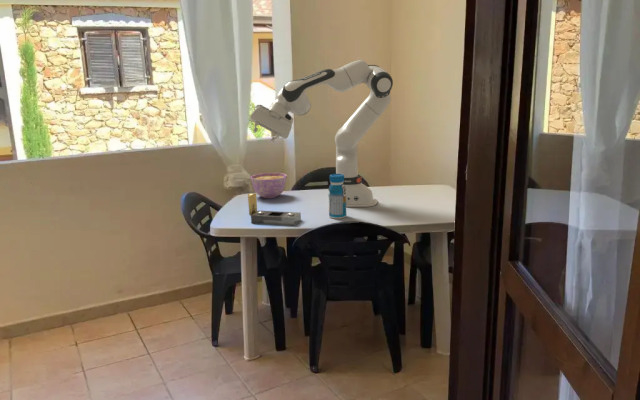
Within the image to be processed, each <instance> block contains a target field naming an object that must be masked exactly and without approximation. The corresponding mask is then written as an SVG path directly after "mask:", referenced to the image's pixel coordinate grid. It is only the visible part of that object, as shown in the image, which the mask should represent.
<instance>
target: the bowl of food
mask: <svg viewBox="0 0 640 400" xmlns="http://www.w3.org/2000/svg"><path fill="white" fill-rule="evenodd" d="M287 177H288V175H287V174H286V173H282V172H263V173H257V174H253V175H251V176H250V180H251V183H252V187H253V191H254V193H255V194H256V195H257V196H259V197H262V198H263V199H274V198H277V197H278V196H280V195H281V194H283V192H284V191H285V187H286V183H287Z"/></svg>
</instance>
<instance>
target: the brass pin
mask: <svg viewBox="0 0 640 400" xmlns="http://www.w3.org/2000/svg"><path fill="white" fill-rule="evenodd" d="M247 200H248V201H247V203H248V215H249V216H251V215H253V214H254V213H256V212H257V211H258V201H257V193H256V192H253V193H248V194H247Z"/></svg>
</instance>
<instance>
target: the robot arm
mask: <svg viewBox="0 0 640 400" xmlns="http://www.w3.org/2000/svg"><path fill="white" fill-rule="evenodd" d="M360 84H364V85H366V86H367V87H368V88H369V90H370V92H369V95H368V96H367V97H366V98H365V99H364V100H363V101H362V103H361V104H360V105H359V106H357V109H356V110H354V112H353V113H352V114H351V116H350V117H349V118H348V119H347V121H345V122H344V124H343V125H342V127H340V128H339V129H338V130H337V131H336V133H335V136H334V143H335V174H343V175H344V182H343V184H344V185H345V187H346V191H345V192H346V208H350V207H351V208H353V207H354V208H355V207H357V208H358V207H359V208H361V207H362V208H364V207H366V208H368V207H370V208H371V207H374V206H375V205H377V204H378V199H377V198H374V195H373V194H374V193H373V192H372V190H371V189H370V188H369V187H368V186H367V185H365V184H363V183H362V182H363V180H362V179H363V176H359V175H358V174H359V173H358V169H359V168H358V167H359V166H358V165H359V164H358V162H359V161H358V160H359V159H358V143H359V142H360V141H361V140H362V138H363V137H364V136H365V135H366V134H367V132H369V130H370V129H371V127H372V126H374V124H375V123H376V122H377V120H378V119H379V118H380V117H381V115H383V113H384V112H385V111H386V110H387V108H388V106H389V104H390V103H391V100H392V98H391V97H392V96H391V95H390V94H391V91H392V89H393V86H394V85H393V84H394V81H393V78H392V75H391V74H390V73H388V72H387V70H385V69H384V68H382V67H380V66H379V65H377V64H368V63H367V62H366V61H365V60H364V59H358V60H355V61H352V62H349V63H347V64H344V65H342V66H341V67H339V68H334V69H331V68H327V69H322V70H319V71H316V72H314V73H311V74H309V75H307V76H306V75H305V76H303V77H301V78H298V79H294V80H290V81H289V80H288V82H286V83H285V84H284V85H283V87H282V88H281V89H280V90H279V92H278V93H277V94H276V96H275V98H274V101H273V102H272V103H271V104H270V106H269V108H268V107H266V106H264V105H262V104H257V105H256V106H255V107H254V111H253V112H252V113H251V114H250V117H249V119H250V121H251V122H253V123H254V127H253V128H254V129H252V131H253V132H254V133H257V132H258V129H259V128H258V126H260V127H262V128H264V129H266V130H268V131H270V132H271V133H273V134H275V135H276V136H272V138H271V139H270V141H271V142H273V143H274V142H275V141H276V140H277V139H279V138H281V139H282V138H283V139H285V140H287V139H288V138H289V136H290V134H291V130H292V128H293V126H292V125H293V123H294V118H293V117H292V115H291V114H289V112H290V113H292V114H293V115H297V116H305V115H306V114H307V113H308V112H309V111H311V108H312V104H311V101H310V99H309V96H308V95H307V93H306V91H307V90H311V89H313V88H315V87H318V86H321V85H326V86H328V87H330V89H332V90H333V91H335V92H338V93H345V92H348V91H350V90H351V89H353V88H355V87H357V86H358V85H360Z"/></svg>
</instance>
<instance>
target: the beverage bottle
mask: <svg viewBox="0 0 640 400" xmlns="http://www.w3.org/2000/svg"><path fill="white" fill-rule="evenodd" d="M343 182H344V175H343V174H336V173H332V174H330V175H329V183H330V184H329V187H328V194H327V195H328V215H329V218H330V219H335V220H337V219H345V218H346V217H347V207H346V192H345V191H346V187H345V185H344V184H343Z"/></svg>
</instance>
